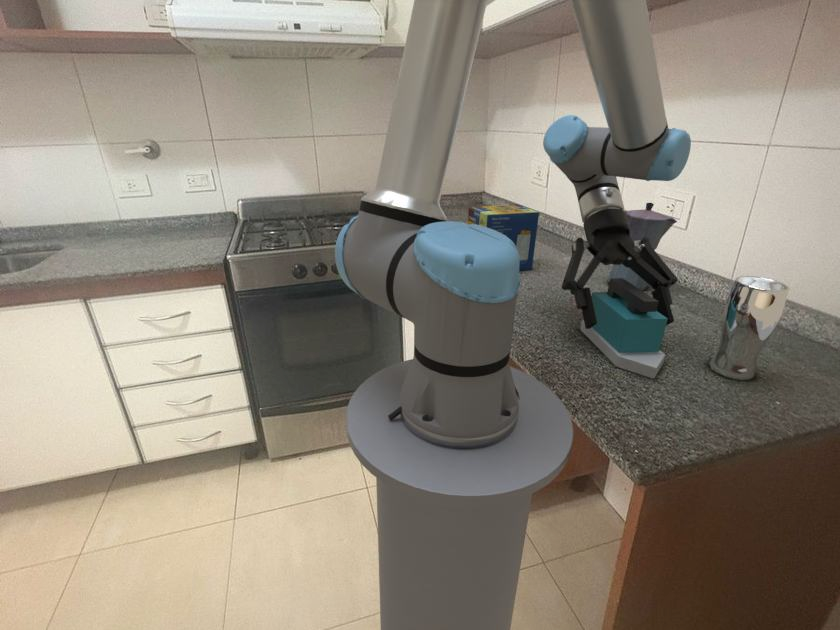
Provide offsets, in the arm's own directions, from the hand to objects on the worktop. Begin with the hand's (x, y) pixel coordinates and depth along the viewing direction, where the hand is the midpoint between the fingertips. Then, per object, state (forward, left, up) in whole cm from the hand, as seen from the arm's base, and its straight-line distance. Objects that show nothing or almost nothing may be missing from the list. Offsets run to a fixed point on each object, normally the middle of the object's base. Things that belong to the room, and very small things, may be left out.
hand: (629, 325), depth 75 cm
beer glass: (+14, -8, -5) cm, 17 cm away
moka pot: (+19, +32, -5) cm, 37 cm away
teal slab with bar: (0, 0, -5) cm, 5 cm away
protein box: (-8, +49, -5) cm, 50 cm away
